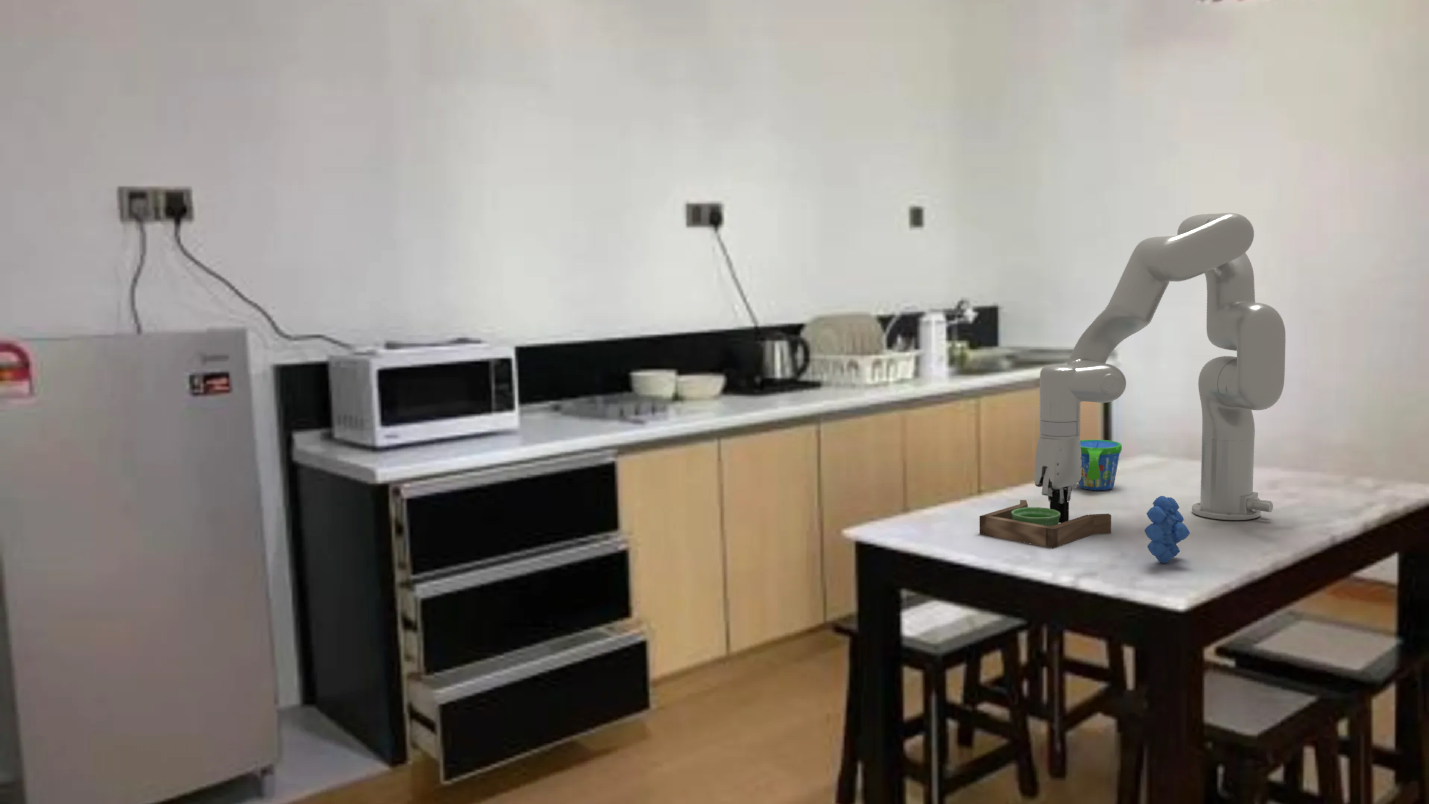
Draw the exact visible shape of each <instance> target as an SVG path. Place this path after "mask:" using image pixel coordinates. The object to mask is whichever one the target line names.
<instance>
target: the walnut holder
mask: <svg viewBox="0 0 1429 804" xmlns="http://www.w3.org/2000/svg"><path fill="white" fill-rule="evenodd" d="M1019 501H1020V502H1019V504H1015V505H1012V506H1009V507H1006V508H1002V509H999V510H996V511H992V512H989V513H986V514H982V515H979V534H980V535H983V536H984V535H985V536H989V537H995V538H999V539H1004V540H1009V541H1015V542H1021V543H1024V542H1025V544H1029V543H1031V545H1035V546H1039V545H1041V546H1040V547H1044V546H1046V548H1049V547H1050V549H1055V548H1058V547H1060V546H1059V545H1061V546H1063V544H1064V545H1066V544H1070V543H1071V542H1075V541H1078V540H1080V539H1083V538H1086V537H1089V536H1092V535H1096V534H1097V535H1098V533H1099V534H1111V533H1112V514H1111V513H1093V514H1092V513H1091V514H1090V513H1089V514H1085V515H1082V516H1079V517H1075V518H1072V519H1069V521H1066V522H1063V523H1059V524H1057V525H1054V526H1051V527H1050V526H1044V525H1039V524H1033V523H1028V522H1022V521H1017V520H1013V517H1012V514H1011V512H1012V511H1013V510H1015V509H1018V508H1024V507H1029V505H1028V501H1027V499H1020V500H1019ZM1077 539H1078V540H1077ZM1057 546H1058V547H1057ZM1051 547H1052V548H1051ZM1054 547H1055V548H1054Z"/></svg>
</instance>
